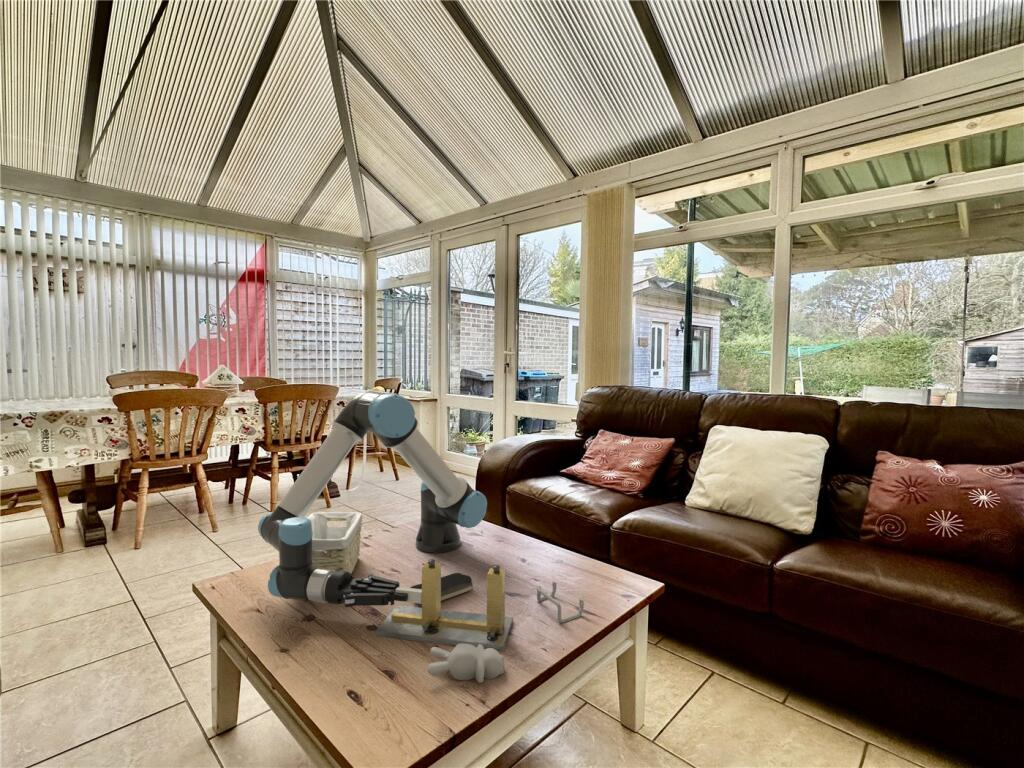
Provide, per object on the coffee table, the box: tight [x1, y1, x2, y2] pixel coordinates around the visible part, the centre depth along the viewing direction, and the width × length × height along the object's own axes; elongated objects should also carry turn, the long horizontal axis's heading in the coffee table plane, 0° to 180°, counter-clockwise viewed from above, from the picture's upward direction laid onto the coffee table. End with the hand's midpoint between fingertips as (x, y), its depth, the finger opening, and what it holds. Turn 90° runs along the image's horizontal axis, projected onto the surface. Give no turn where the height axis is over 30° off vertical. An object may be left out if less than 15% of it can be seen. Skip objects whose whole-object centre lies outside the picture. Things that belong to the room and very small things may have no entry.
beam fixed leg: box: [391, 564, 506, 638], centre depth 115 cm, size 6×27×15 cm, turn 80°
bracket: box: [536, 580, 585, 624], centre depth 126 cm, size 13×8×5 cm, turn 31°
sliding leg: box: [421, 558, 442, 631], centre depth 115 cm, size 6×4×15 cm, turn 170°
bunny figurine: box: [427, 643, 505, 684], centre depth 100 cm, size 10×5×15 cm
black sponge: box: [409, 572, 474, 602], centre depth 133 cm, size 16×8×4 cm, turn 130°
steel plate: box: [375, 604, 514, 652], centre depth 116 cm, size 12×30×1 cm, turn 80°
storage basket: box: [307, 511, 363, 574], centre depth 145 cm, size 24×16×15 cm
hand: (422, 596), depth 116 cm, fingers closed
